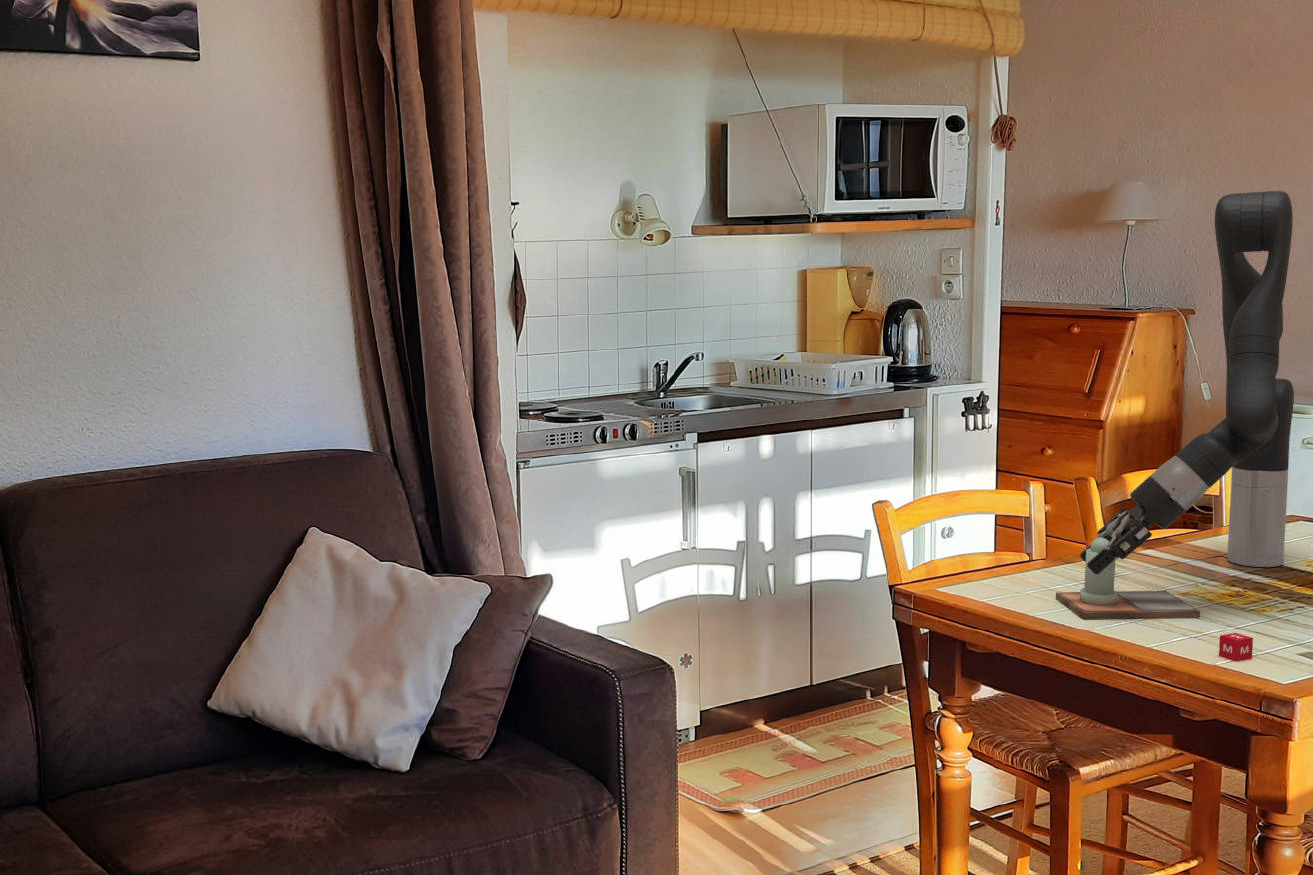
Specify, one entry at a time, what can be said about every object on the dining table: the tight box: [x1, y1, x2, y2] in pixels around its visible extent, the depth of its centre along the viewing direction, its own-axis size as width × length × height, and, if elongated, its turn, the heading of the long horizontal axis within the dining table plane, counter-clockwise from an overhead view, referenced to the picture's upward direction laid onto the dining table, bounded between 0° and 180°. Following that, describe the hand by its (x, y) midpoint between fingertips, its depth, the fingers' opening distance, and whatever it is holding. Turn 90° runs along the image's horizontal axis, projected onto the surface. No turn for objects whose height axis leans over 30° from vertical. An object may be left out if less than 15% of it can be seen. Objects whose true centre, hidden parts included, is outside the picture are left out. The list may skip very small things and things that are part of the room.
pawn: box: [1079, 538, 1118, 606], centre depth 213 cm, size 6×6×10 cm
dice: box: [1218, 632, 1254, 662], centre depth 187 cm, size 3×3×3 cm
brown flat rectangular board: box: [1055, 590, 1201, 621], centre depth 213 cm, size 13×18×1 cm
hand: (1087, 565), depth 213 cm, fingers open, 6 cm apart
